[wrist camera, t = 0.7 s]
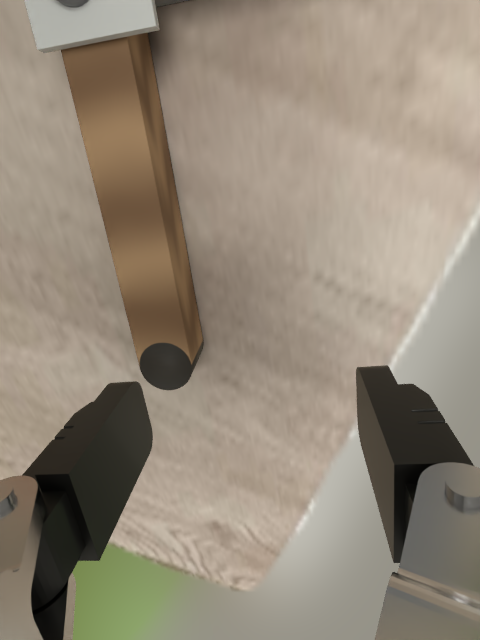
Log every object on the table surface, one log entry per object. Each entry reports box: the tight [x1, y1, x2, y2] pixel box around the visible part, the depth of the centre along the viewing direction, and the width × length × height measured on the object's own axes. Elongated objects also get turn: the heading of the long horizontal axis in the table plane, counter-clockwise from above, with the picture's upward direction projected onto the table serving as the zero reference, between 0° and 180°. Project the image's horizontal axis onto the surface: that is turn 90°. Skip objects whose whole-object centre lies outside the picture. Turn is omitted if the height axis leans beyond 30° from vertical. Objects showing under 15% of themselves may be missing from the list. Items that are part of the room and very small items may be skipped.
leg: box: [61, 33, 203, 390], centre depth 24 cm, size 24×4×4 cm, turn 8°
